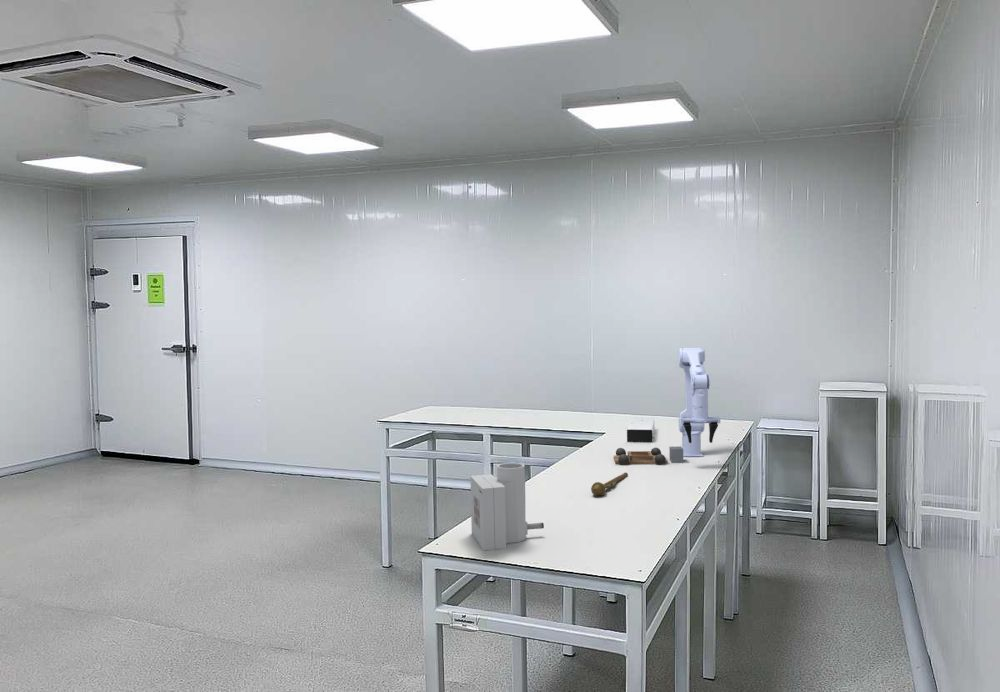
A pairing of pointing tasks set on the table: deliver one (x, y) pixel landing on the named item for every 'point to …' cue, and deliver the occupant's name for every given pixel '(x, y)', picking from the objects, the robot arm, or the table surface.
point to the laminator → (640, 430)
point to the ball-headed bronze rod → (605, 485)
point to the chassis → (640, 457)
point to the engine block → (676, 454)
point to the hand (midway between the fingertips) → (700, 442)
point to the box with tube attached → (500, 507)
